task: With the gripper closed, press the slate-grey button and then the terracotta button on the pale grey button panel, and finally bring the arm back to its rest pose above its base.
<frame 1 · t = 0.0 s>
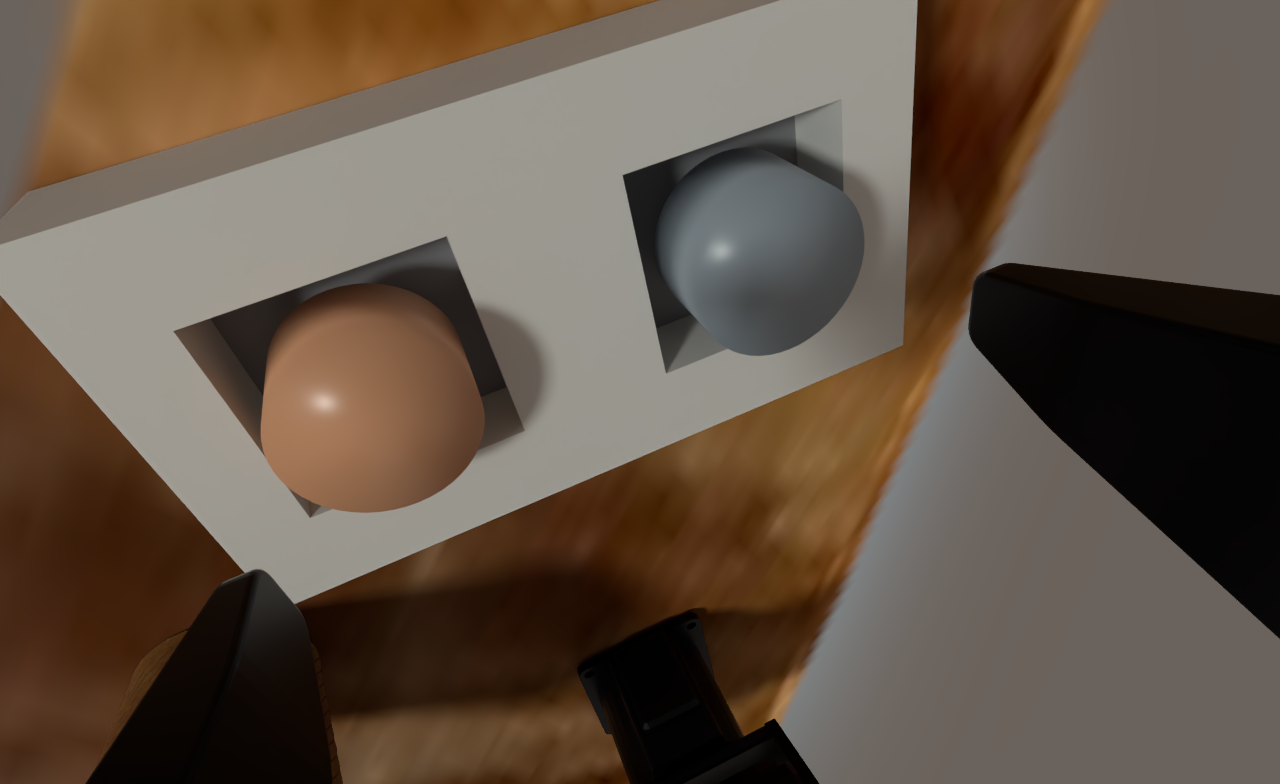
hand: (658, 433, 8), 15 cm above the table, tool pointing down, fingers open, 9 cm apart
terracotta button: (374, 398, 18), point 5 cm above the table, slide at 0.0 cm
disposable coffee cup: (230, 672, 27), on the table
button panel: (533, 257, 22), on the table
slate-grey button: (756, 252, 20), point 5 cm above the table, slide at 0.0 cm
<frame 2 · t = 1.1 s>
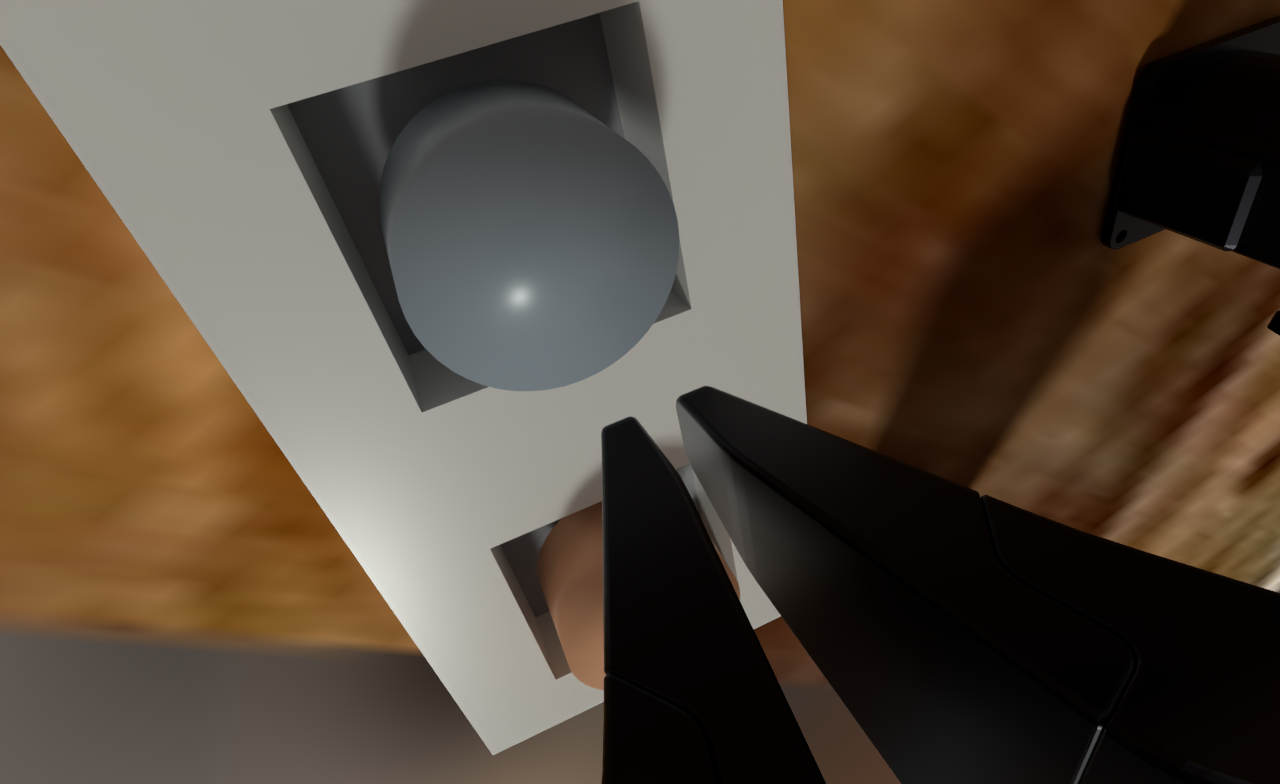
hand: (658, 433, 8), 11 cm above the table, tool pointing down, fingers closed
terracotta button: (636, 586, 20), point 4 cm above the table, slide at 0.0 cm
button panel: (543, 354, 20), on the table
slate-grey button: (525, 236, 13), point 4 cm above the table, slide at 0.0 cm
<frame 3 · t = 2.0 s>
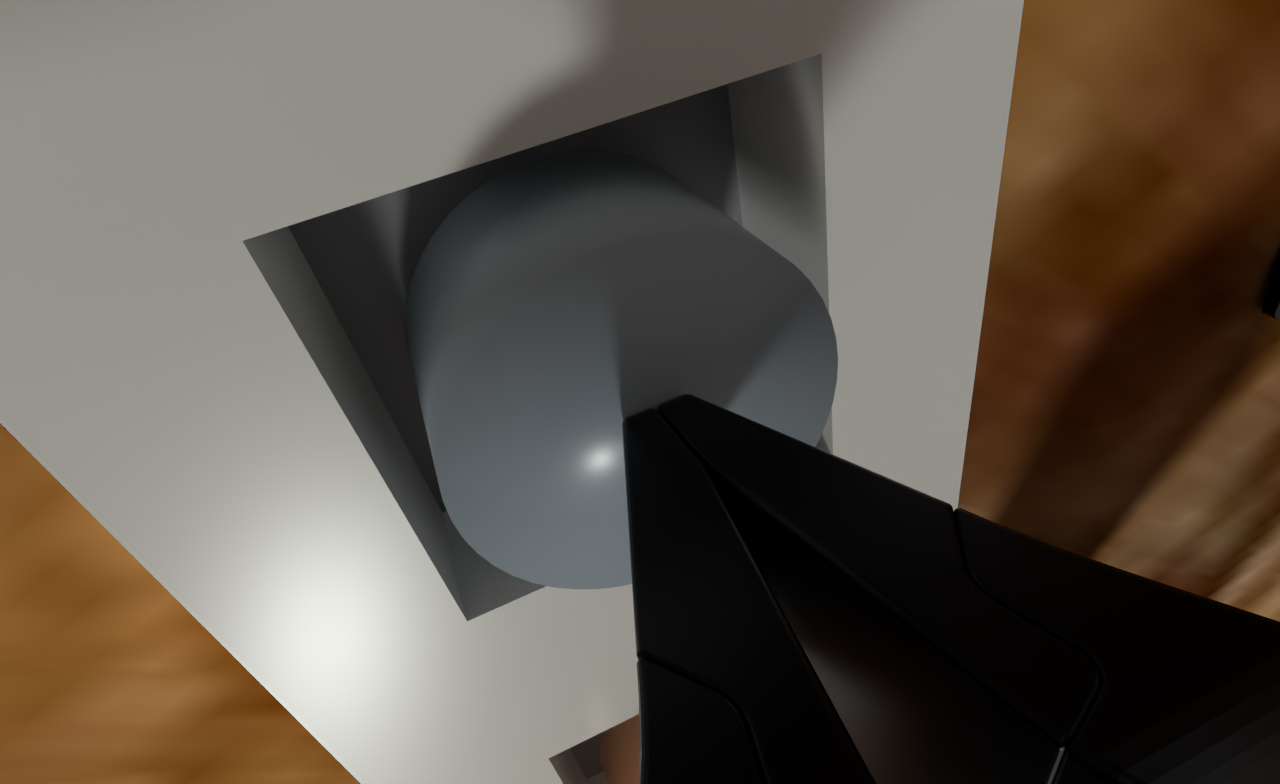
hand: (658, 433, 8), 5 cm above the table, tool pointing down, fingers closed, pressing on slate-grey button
terracotta button: (728, 778, 16), point 4 cm above the table, slide at 0.0 cm
button panel: (608, 479, 16), on the table
slate-grey button: (612, 370, 10), point 4 cm above the table, slide at 0.7 cm, touching gripper
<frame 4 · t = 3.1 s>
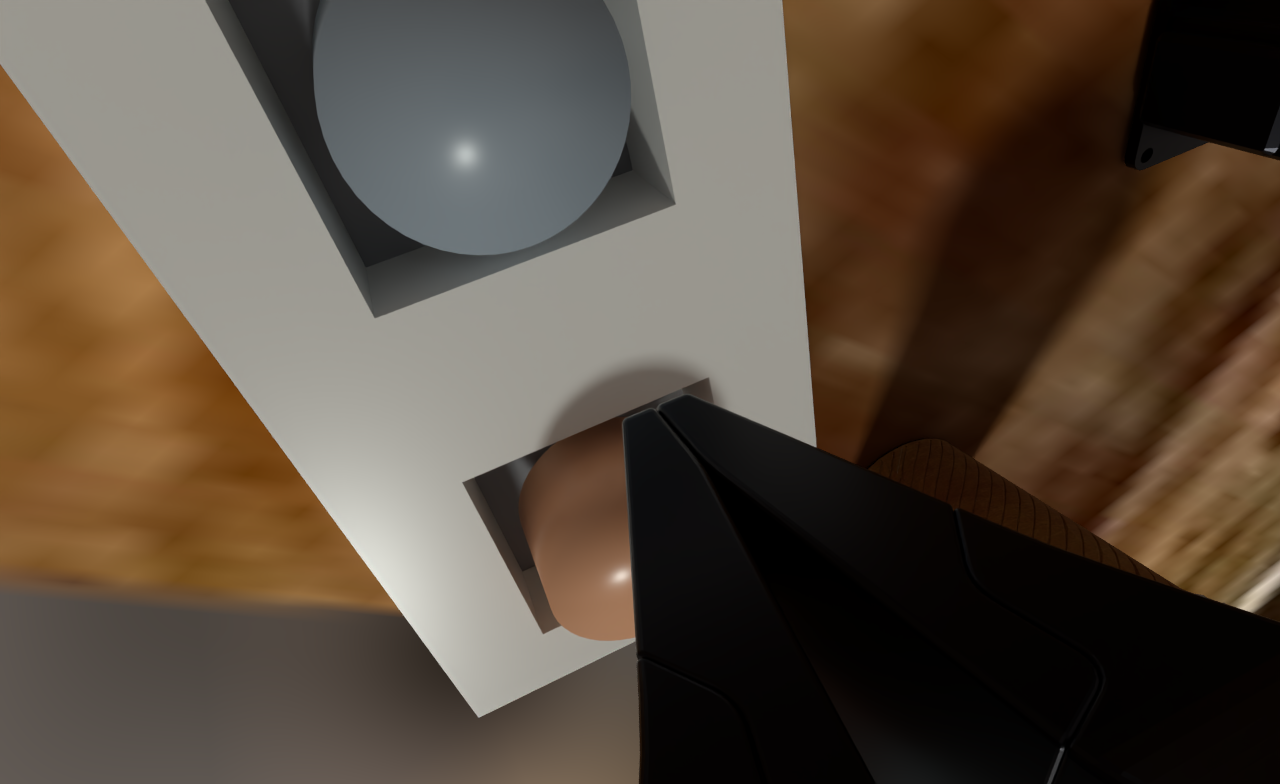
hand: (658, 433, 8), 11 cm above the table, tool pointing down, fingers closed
terracotta button: (626, 528, 19), point 4 cm above the table, slide at 0.0 cm
disposable coffee cup: (894, 494, 31), on the table
button panel: (520, 277, 19), on the table
slate-grey button: (468, 89, 13), point 3 cm above the table, slide at 1.0 cm
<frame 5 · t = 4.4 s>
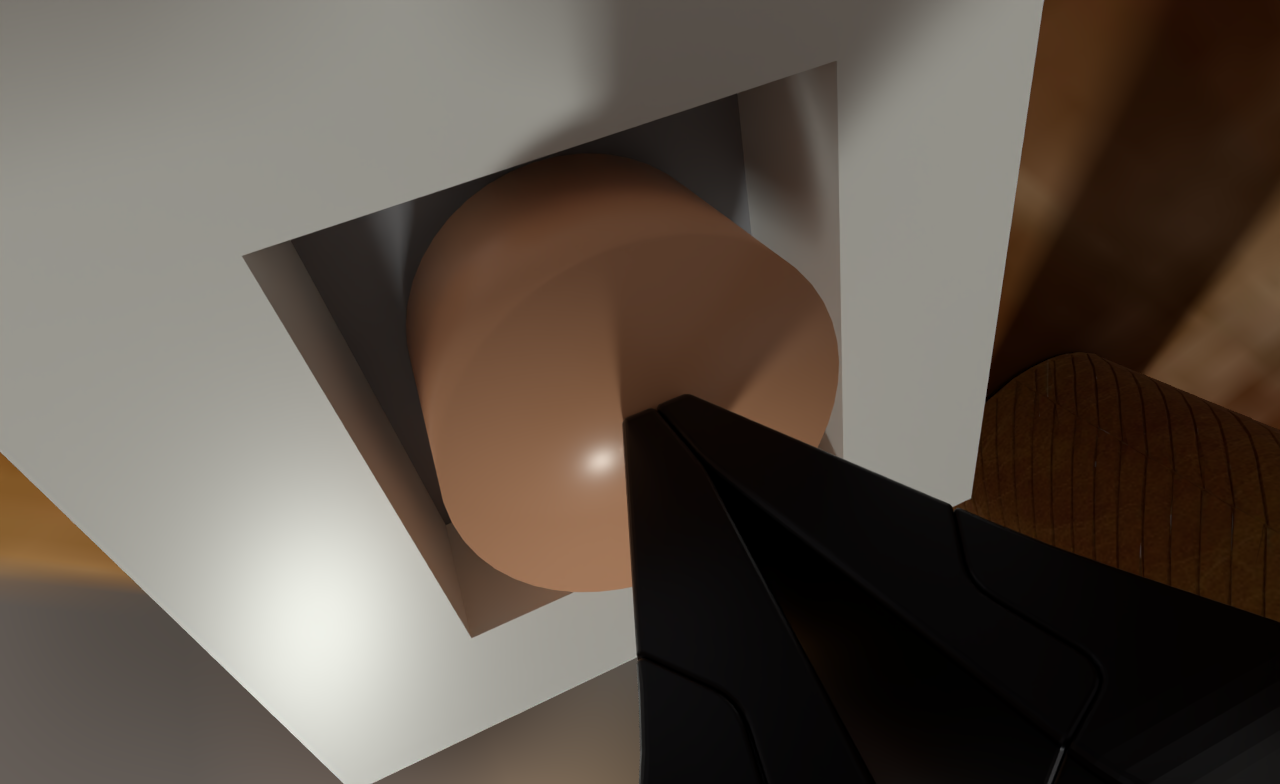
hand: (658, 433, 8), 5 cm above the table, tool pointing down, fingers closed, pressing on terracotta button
terracotta button: (613, 373, 10), point 3 cm above the table, slide at 1.0 cm, touching gripper
disposable coffee cup: (1019, 440, 21), on the table
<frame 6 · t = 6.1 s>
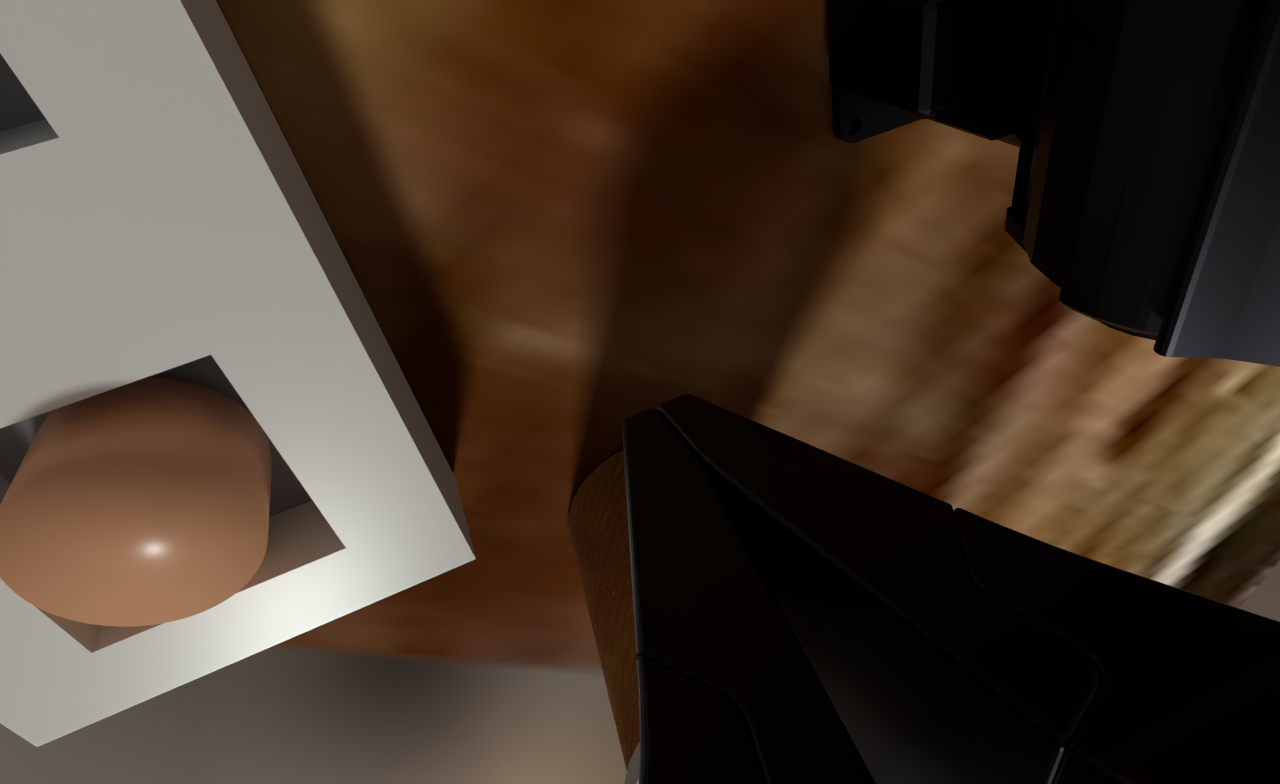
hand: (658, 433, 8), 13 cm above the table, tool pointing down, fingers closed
terracotta button: (150, 501, 17), point 3 cm above the table, slide at 1.0 cm
disposable coffee cup: (642, 500, 28), on the table
button panel: (26, 237, 16), on the table
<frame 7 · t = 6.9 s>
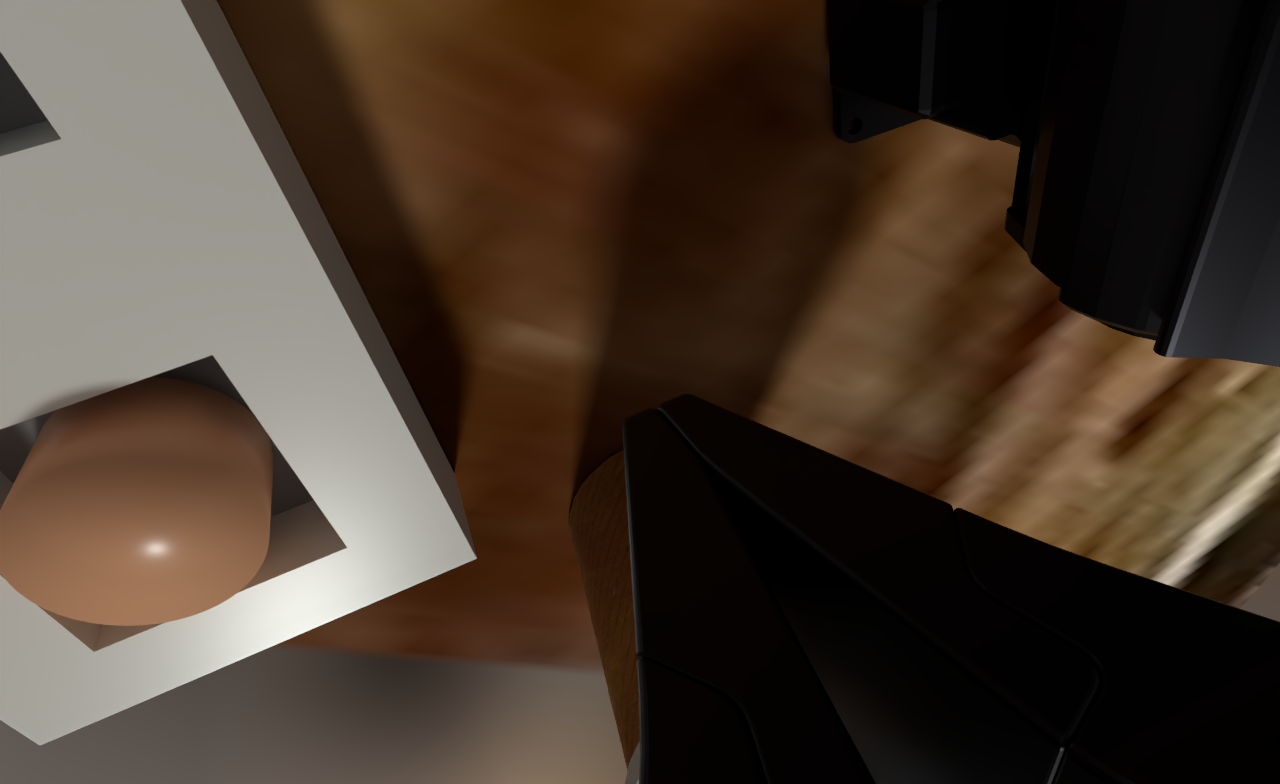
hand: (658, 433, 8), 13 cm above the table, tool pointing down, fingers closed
terracotta button: (152, 501, 17), point 3 cm above the table, slide at 1.0 cm
disposable coffee cup: (643, 499, 28), on the table
button panel: (28, 237, 16), on the table
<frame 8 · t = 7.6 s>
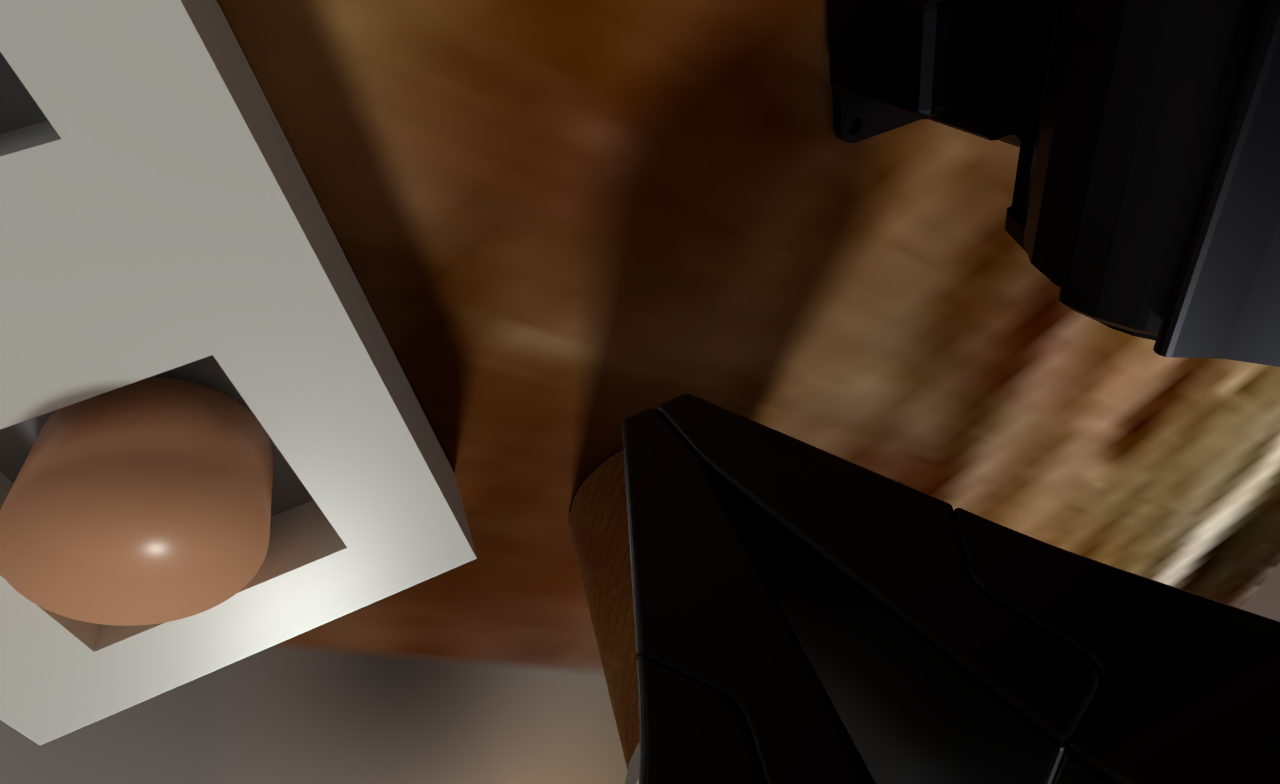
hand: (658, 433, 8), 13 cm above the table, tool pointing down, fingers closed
terracotta button: (152, 501, 17), point 3 cm above the table, slide at 1.0 cm
disposable coffee cup: (643, 499, 28), on the table
button panel: (28, 237, 16), on the table
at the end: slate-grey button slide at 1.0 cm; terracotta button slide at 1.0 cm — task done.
